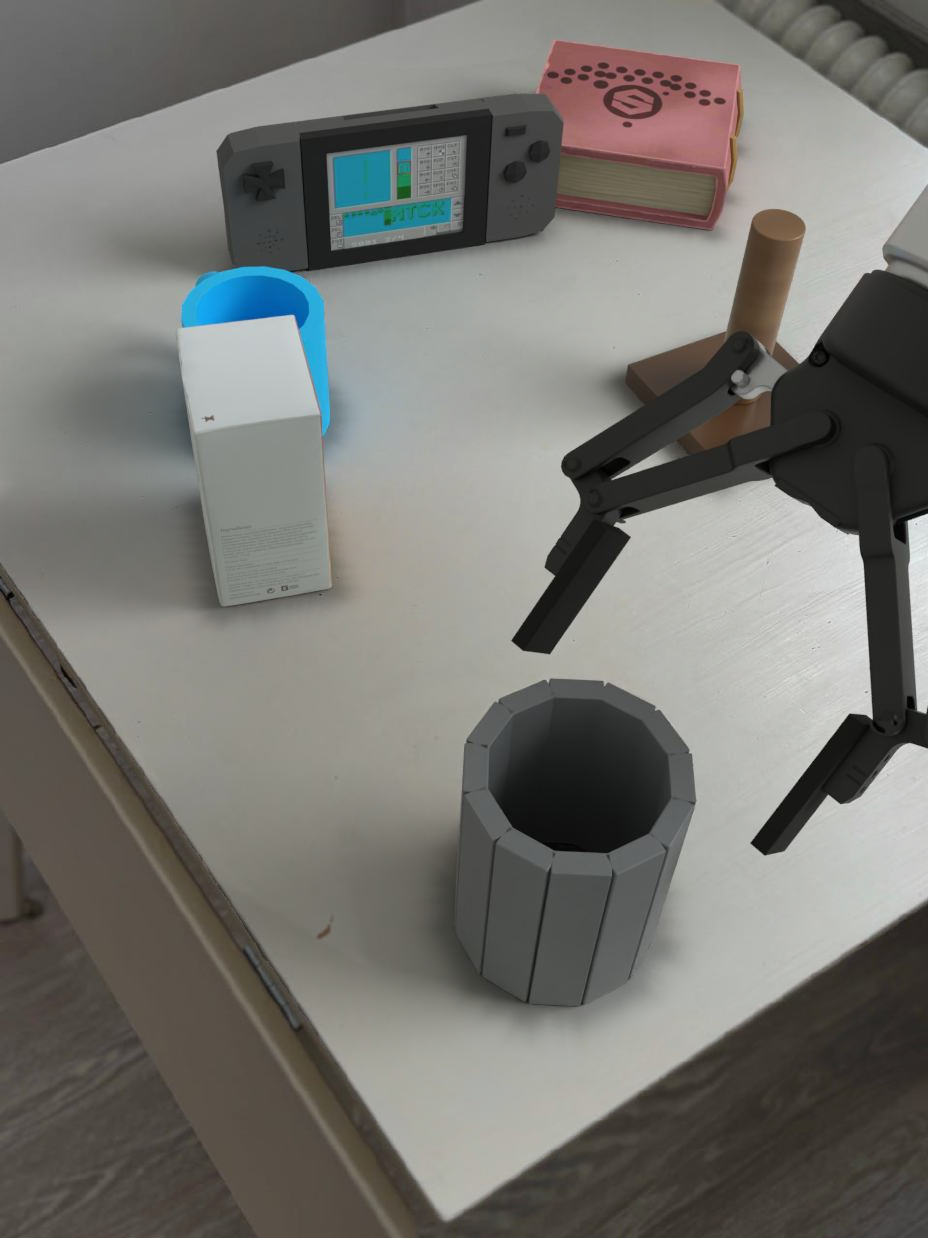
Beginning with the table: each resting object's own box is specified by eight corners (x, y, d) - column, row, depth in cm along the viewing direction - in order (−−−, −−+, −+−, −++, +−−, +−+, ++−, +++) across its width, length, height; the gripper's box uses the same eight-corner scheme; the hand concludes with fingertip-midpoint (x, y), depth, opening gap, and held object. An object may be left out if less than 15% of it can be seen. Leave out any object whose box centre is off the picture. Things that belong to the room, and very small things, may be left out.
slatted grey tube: (690, 951, 62) (740, 815, 53) (516, 1040, 59) (537, 913, 50) (586, 797, 67) (615, 648, 58) (420, 873, 64) (423, 729, 55)
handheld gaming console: (236, 285, 92) (220, 153, 84) (229, 261, 94) (213, 129, 86) (555, 236, 97) (568, 107, 89) (543, 214, 98) (555, 85, 90)
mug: (354, 433, 83) (350, 326, 77) (234, 481, 80) (219, 374, 74) (265, 324, 89) (254, 217, 83) (150, 365, 86) (129, 258, 80)
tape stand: (845, 431, 85) (907, 249, 74) (713, 481, 82) (759, 299, 71) (751, 338, 90) (796, 156, 80) (624, 382, 87) (654, 198, 77)
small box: (334, 591, 75) (323, 415, 65) (219, 610, 74) (190, 433, 64) (309, 488, 80) (295, 310, 70) (201, 505, 79) (171, 326, 69)
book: (724, 231, 98) (737, 170, 94) (516, 201, 99) (520, 139, 95) (739, 126, 107) (751, 66, 103) (547, 99, 108) (553, 39, 104)
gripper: (1253, 503, 51) (903, 932, 56) (738, 203, 62) (483, 584, 67) (1256, 467, 44) (858, 957, 49) (679, 139, 55) (402, 566, 60)
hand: (642, 743), depth 58 cm, fingers open, 13 cm apart
